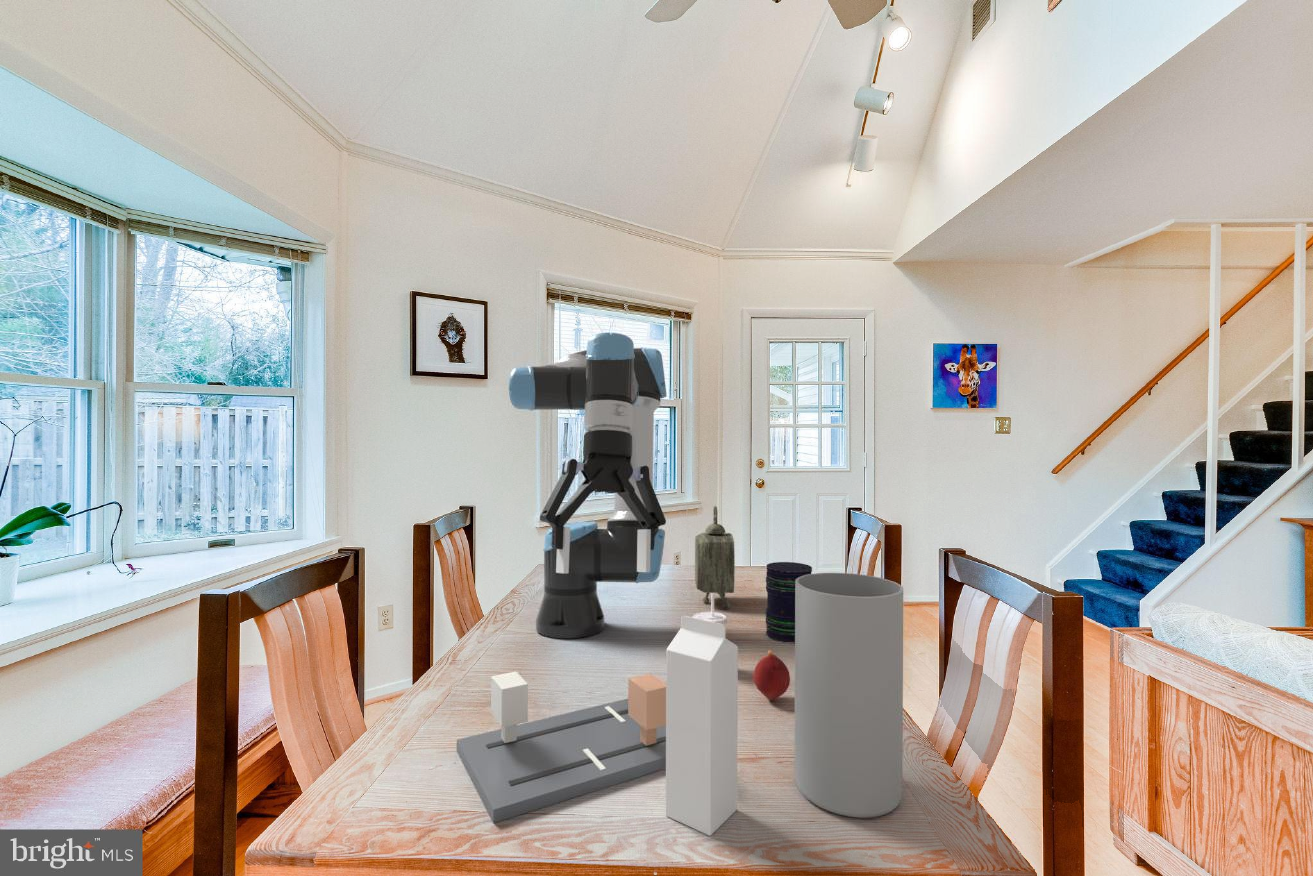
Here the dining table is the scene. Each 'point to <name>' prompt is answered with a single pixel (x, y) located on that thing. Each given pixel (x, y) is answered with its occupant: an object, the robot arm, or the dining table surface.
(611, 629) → the dining table surface
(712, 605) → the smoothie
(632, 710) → the fader
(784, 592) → the storage jar
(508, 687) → the block
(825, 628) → the cylinder vase
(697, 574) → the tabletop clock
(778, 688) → the onion
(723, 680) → the milk
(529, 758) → the console
